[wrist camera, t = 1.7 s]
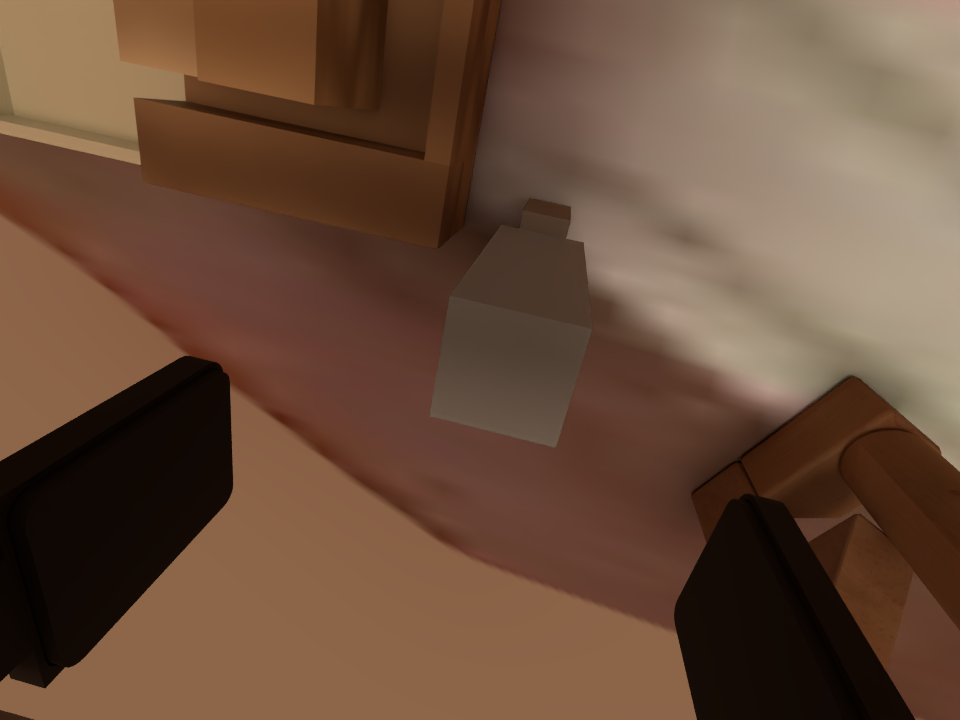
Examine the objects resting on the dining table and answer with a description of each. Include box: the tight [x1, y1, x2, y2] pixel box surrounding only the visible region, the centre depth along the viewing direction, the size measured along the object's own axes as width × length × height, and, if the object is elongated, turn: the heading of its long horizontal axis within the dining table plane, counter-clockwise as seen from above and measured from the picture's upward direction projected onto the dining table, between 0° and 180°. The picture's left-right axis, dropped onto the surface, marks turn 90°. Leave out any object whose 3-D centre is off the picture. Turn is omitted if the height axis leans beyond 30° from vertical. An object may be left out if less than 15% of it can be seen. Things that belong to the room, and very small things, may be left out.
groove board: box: [133, 0, 501, 249], centre depth 20 cm, size 13×13×6 cm
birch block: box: [113, 0, 198, 77], centre depth 19 cm, size 4×4×4 cm
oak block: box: [193, 0, 388, 111], centre depth 18 cm, size 4×4×6 cm
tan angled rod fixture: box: [692, 377, 960, 672], centre depth 20 cm, size 4×11×18 cm, turn 143°
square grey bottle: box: [430, 198, 592, 448], centre depth 19 cm, size 5×4×14 cm
